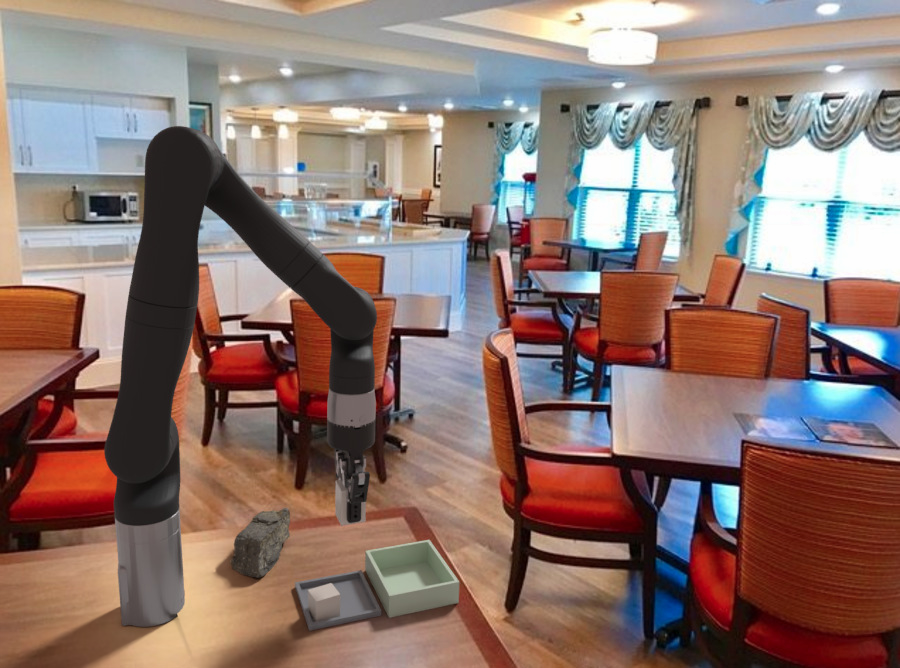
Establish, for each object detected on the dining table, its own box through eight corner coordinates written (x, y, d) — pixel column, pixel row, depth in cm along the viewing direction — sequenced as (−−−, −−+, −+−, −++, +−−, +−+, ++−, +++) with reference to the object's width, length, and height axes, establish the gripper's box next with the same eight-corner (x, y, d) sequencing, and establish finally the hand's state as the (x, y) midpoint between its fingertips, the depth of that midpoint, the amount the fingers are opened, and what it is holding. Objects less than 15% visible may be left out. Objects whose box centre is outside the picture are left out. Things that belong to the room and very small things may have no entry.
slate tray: (309, 633, 109) (309, 625, 108) (295, 590, 120) (295, 582, 119) (381, 618, 113) (381, 610, 113) (361, 577, 124) (361, 570, 124)
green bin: (388, 620, 113) (389, 596, 112) (365, 573, 125) (365, 550, 124) (458, 605, 117) (459, 581, 116) (428, 561, 130) (429, 539, 129)
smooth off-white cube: (316, 624, 110) (316, 601, 109) (308, 612, 113) (307, 589, 112) (340, 616, 112) (340, 594, 111) (331, 604, 115) (331, 582, 114)
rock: (239, 511, 136) (290, 498, 136) (249, 542, 137) (300, 530, 138) (218, 557, 119) (276, 542, 120) (230, 592, 121) (287, 577, 121)
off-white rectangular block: (341, 525, 113) (341, 491, 111) (335, 514, 116) (335, 480, 115) (365, 521, 114) (366, 487, 113) (358, 510, 118) (359, 477, 116)
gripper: (318, 402, 116) (318, 498, 120) (338, 434, 103) (337, 540, 107) (362, 398, 119) (361, 492, 123) (387, 429, 106) (385, 532, 110)
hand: (350, 514), depth 115 cm, fingers closed on off-white rectangular block, 4 cm apart
